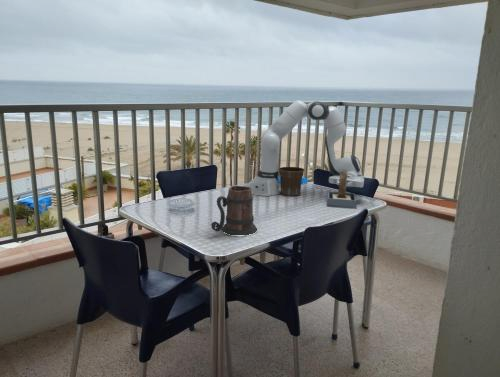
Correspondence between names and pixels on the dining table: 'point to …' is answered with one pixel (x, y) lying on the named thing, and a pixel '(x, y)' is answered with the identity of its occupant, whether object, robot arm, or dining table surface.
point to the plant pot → (291, 180)
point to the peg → (342, 184)
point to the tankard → (236, 212)
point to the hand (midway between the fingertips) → (342, 184)
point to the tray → (341, 200)
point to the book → (304, 180)
